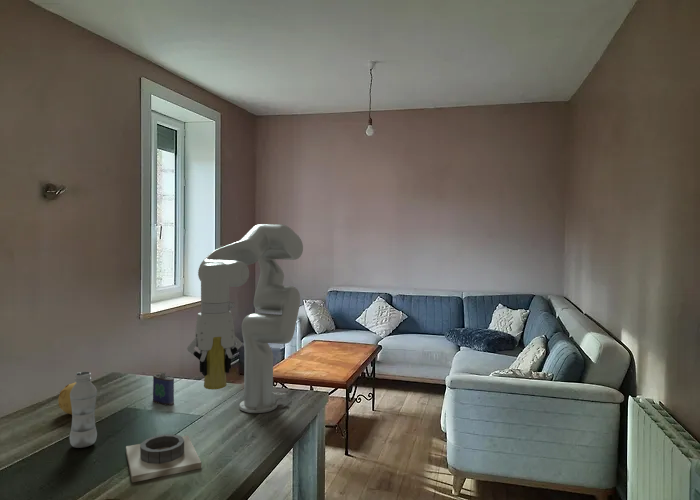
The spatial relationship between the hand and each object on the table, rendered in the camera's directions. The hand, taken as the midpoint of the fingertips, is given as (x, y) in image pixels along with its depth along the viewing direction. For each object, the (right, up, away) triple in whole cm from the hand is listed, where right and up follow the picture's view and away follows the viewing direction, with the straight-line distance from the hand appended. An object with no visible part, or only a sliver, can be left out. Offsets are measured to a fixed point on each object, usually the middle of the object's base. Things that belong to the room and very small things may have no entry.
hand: (215, 372), depth 138 cm
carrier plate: (-11, -20, -9) cm, 25 cm away
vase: (0, -4, 0) cm, 4 cm away
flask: (-27, -19, +33) cm, 46 cm away
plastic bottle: (-36, -20, -1) cm, 41 cm away
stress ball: (-50, -19, +21) cm, 58 cm away
